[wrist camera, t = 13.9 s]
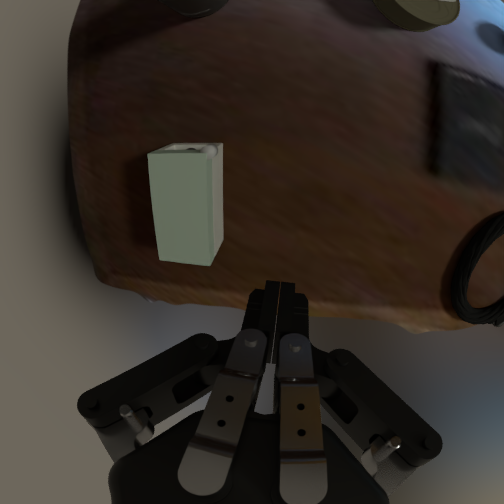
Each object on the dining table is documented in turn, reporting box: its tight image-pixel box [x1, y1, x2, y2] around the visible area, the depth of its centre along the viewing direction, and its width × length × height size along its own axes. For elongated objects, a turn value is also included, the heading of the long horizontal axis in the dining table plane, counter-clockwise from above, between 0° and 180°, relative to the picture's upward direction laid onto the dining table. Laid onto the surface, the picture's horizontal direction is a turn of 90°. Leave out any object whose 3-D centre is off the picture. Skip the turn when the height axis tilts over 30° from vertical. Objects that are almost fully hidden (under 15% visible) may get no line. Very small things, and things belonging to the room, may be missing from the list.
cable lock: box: [451, 213, 504, 327], centre depth 40 cm, size 28×4×30 cm
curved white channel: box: [158, 143, 223, 256], centre depth 41 cm, size 16×8×6 cm, turn 178°
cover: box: [148, 143, 218, 266], centre depth 37 cm, size 17×9×2 cm, turn 178°
